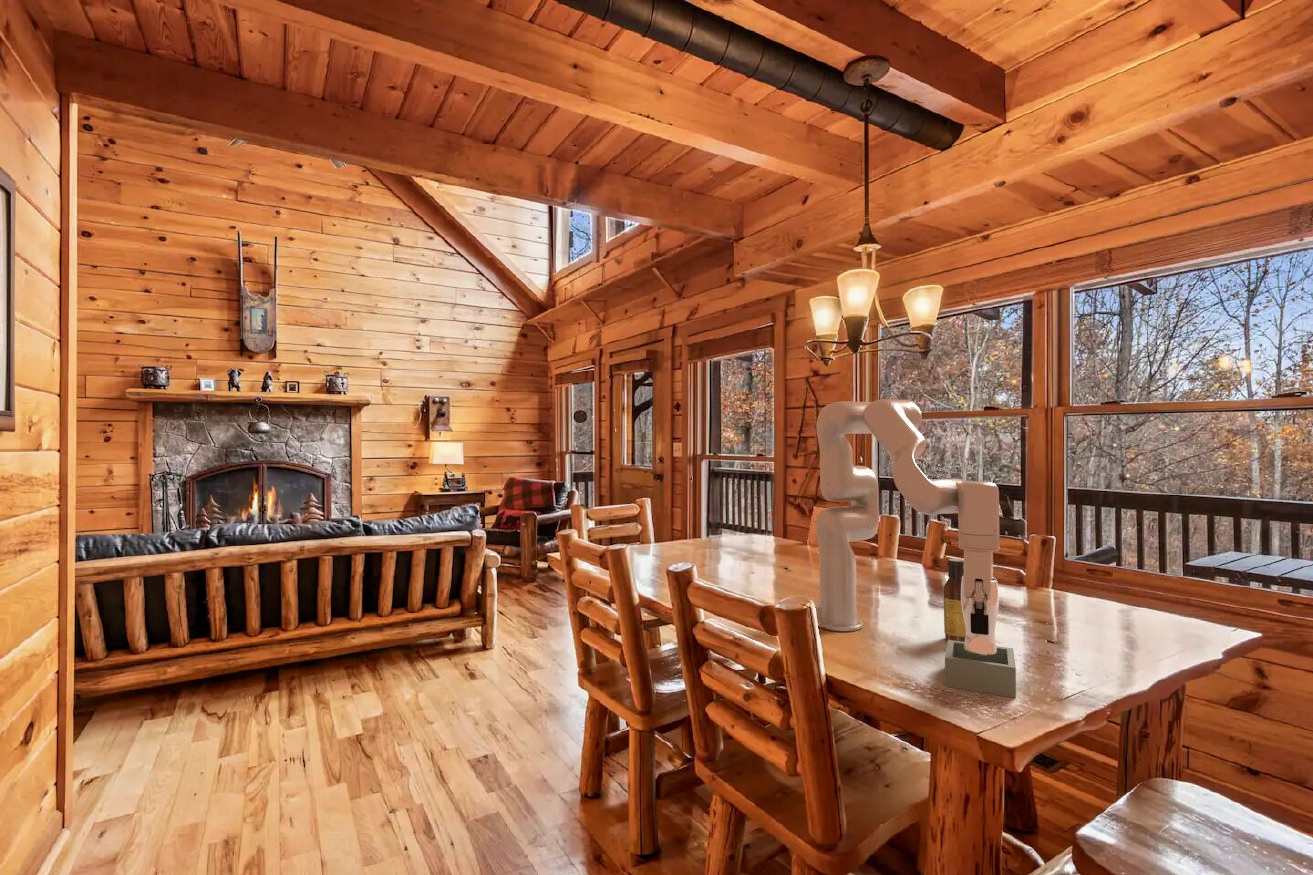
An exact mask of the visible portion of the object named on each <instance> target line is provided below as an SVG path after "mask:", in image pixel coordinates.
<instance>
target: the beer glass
mask: <svg viewBox="0 0 1313 875" xmlns="http://www.w3.org/2000/svg"><path fill="white" fill-rule="evenodd" d="M998 586H999V585H998V579H997V578H996V577H994V576H993V581H992V591H991V599H990V600H989V601H987V614H988V619H989V634H988V635H982V634H974V633H971V615H970V613H972V600H971V598H972V595H971V597H967V599H966V598H965V597H964V576H962V583H961V606H962V612H963V617H964V622H965V628H966V637H965V643H964V650H965V651H967V652H969V653H972V654H976V655H982V656H992V655H996V654H997V648H996V646H997V643H996V638H995V633H996V626H997V620H998V614H999V609H1000V608H999V606H1000V595H999V594H1000V593H999V587H998ZM975 587H976V579H975ZM982 588H983V580H982ZM984 592H985V591H984ZM984 592H983V590H982V598H983V599H985V595H984ZM974 598H976V590H975V593H974ZM975 603H976V601H975ZM982 603H984V602H982Z"/></svg>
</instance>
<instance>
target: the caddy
mask: <svg viewBox="0 0 1313 875" xmlns="http://www.w3.org/2000/svg"><path fill="white" fill-rule="evenodd" d="M964 643H965V642H961V641H953V640H947V645H946V650H945V655H944V687H946V688H950V689H951V688H953V689H958V690H964V691H970V692H978V693H983V694H989V695H995V696H1001V697H1002V696H1003V697H1008V698H1013V699H1014V698H1015V699H1016V698H1017V680H1016V678H1017V676H1016V675H1017V674H1016V671H1017V670H1016V669H1017V668H1016V662H1015V661H1016V660H1015V652H1014V651H1015V650H1014V648H1012V647H1008V646H1007V647H1005V646H997V645H996V648H997V654H996V655H992V656H982V655H976V654H972V653H969V652H967V651H965V650H964Z"/></svg>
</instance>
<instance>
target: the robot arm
mask: <svg viewBox="0 0 1313 875" xmlns="http://www.w3.org/2000/svg"><path fill="white" fill-rule="evenodd" d="M922 419H923V417H922V412H921V410H920V408H919V407H918V405H917V404H915V403H914V402H913V401H910V400H908V399H891V398H890V399H888V398H886V399H885V398H884V399H877V400H874V401H856V400H855V401H852V400H851V401H849V400H846V401H836V402H834V401H833V402H832V403H828V404H827V405H825V406H824V407H822V409H821V410H820V411H819V413H818V416H817V419H816V424H815V425H816V426H815V427H816V435H817V440H818V447H819V474H820V475H819V479H820V481H819V484H820V492H821V495H822V497H823V498H824V499H825V500H826V501H828V502H829V501H830V502H834V503H835V502H837V503H838V502H850V505H843V506H842V505H840V506H839V505H838V506H831V507H826V508H824V509H822V510H820V511H819V512H818V514H817V515H816V517H815V519H814V529H815V534H816V538H817V539H816V540H817V544H818V562H819V563H818V565H819V566H818V568H819V574H818V575H819V576H818V577H819V578H818V579H819V586H818V587H819V605H816V606H814V607H815V608H816V611H817V619H818V623H819V628H821V627H822V628H821V629H823V628H825V629H824V630H827V629H828V630H829V631H835V632H854V631H858V630H860V629H862V628H863V627H864V626H863V625H864V622H863V620H861V619H860V618H859V617H857V615H858V614H857V559H856V555H855V553H854V550H853V548H852V546H851V545H850V542H851V543H852V542H857V541H858V542H859V541H865V540H869V539H872V538H874V537H875V535H876V534H877V533H878V530H879V524H880V504H879V503H880V500H879V499H880V496H879V490H880V489H879V482H878V478H877V476H876V474H875V472H874V471H873V470H872V469H870V467H868V466H866V465H865V466H864V465H854V459H853V457H854V453H853V448H852V445H851V442H850V441H849V439H848V438H847V437H846V435H848V434H850V435H852V434H853V435H862V434H865V435H867V434H868V435H869V434H870V435H873V436H874V438H875V439H876V440H877V441H878V442H879V444H880V445H881V446H882V448H883V449H884V450H885V451H886V453H887V454H888V455H889V456H890V458H891V459H892V464H891V466H892V467H891V470H892V471H891V472H892V478H893V482H894V484H895V485H894V486H895V487H896V489H897V490H898V492H899V493H900V495H902V496H903V498H904V499H905V501H906V502H907V504H909V505H910V507H912V508H913V509H914V511H917V512H918V513H920V514H922V515H927V516H933V515H941V514H942V515H944V514H948V515H949V514H957V516H958V518H957V520H958V521H957V522H958V524H957V526H958V528H957V530H958V548H959V549H960V550H964V551H963V560H964V597H965V598H966V599H967V597H971V595H972V598H971V600H972V613H970V615H971V633H974V634H982V635H988V634H989V619H988V614H987V601H989V600H990V599H991V591H992V581H993V577H994V576H993V575H994V574H993V573H994V552H999V551H1000V549H1001V548H1000V491H999V486H998V485H997V484H996V483H994V482H990V481H975V480H974V481H971V480H970V481H969V480H967V479H961V478H940V479H939V478H934V479H932V478H931V479H928V477H927V476H926V475H925V474H924V473H923V471H922V470H921V469H920V468H919V466H918V465H917V463H916V461H915V460H917V459H918V458H919V457H920V456H921V455H922V454H923V452H924V451H925V449H926V447H927V441H926V438H925V437H924V436H923V434H922V433H921V432H920V431H919V430H918V429H919V428H920V426H921V425H922V421H923V420H922ZM975 579H976V587H975ZM982 580H983V588H982ZM975 590H976V598H974V593H975ZM982 590H983V592H984V591H985V592H984V595H985V599H983V598H982ZM975 601H976V603H975ZM982 602H984V603H982ZM828 630H827V631H828Z"/></svg>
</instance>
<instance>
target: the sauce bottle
mask: <svg viewBox="0 0 1313 875" xmlns="http://www.w3.org/2000/svg"><path fill="white" fill-rule="evenodd" d="M947 567H948V574H947V575H948V578H947V580H946V581H945V583H944V586H943V620H944V621H943V622H944V623H943V624H944V625H943V626H944V627H943V628H944V630H943V631H944V638H945V640H946V641H948V640H953V641H961V642H965V637H966V628H965V622H964V617H963V612H962V606H961V583H962V576H964V559H962V558H948V559H947Z"/></svg>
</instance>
